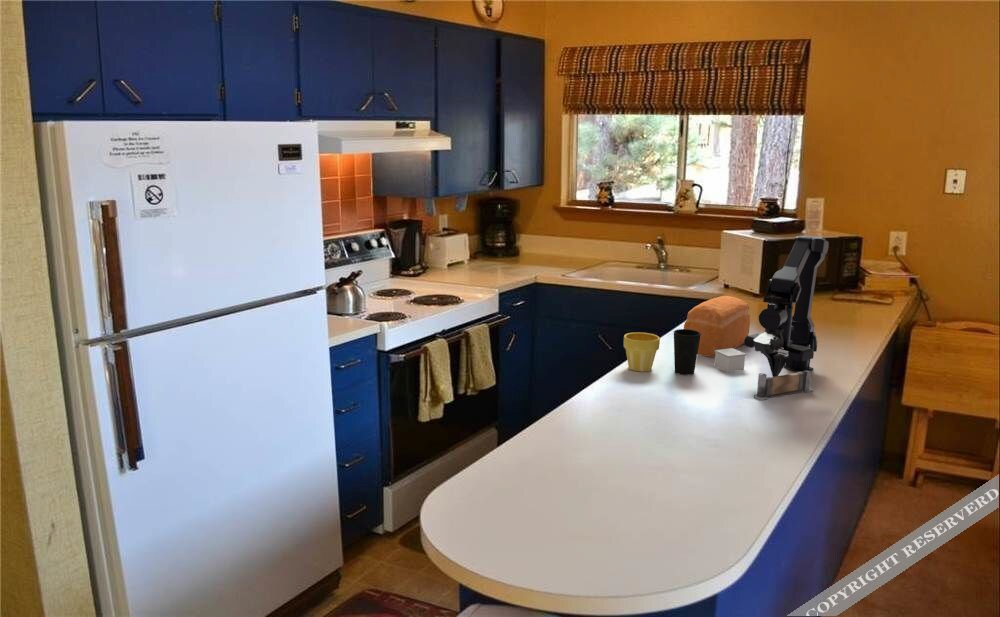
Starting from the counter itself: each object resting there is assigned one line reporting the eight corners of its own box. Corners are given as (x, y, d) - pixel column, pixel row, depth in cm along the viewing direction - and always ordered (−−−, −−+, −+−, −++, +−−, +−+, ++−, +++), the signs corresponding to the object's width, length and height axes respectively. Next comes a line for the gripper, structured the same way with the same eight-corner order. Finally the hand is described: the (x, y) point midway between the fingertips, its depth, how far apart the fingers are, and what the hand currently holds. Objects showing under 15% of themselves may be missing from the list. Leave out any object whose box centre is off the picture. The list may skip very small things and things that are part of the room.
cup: (698, 377, 234) (701, 336, 232) (670, 375, 236) (673, 334, 233) (697, 369, 242) (700, 330, 239) (671, 367, 243) (673, 328, 240)
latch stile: (804, 387, 227) (806, 369, 225) (813, 391, 224) (815, 372, 223) (796, 389, 225) (798, 370, 224) (804, 392, 223) (806, 373, 221)
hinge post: (760, 394, 220) (763, 371, 219) (770, 399, 217) (772, 375, 216) (750, 396, 219) (752, 373, 217) (759, 400, 216) (762, 377, 214)
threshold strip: (796, 390, 225) (797, 389, 225) (802, 392, 223) (802, 391, 223) (762, 395, 220) (762, 394, 219) (767, 398, 218) (767, 397, 218)
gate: (766, 396, 218) (768, 379, 217) (762, 394, 219) (763, 378, 218) (801, 389, 224) (803, 373, 223) (797, 387, 225) (799, 371, 224)
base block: (730, 364, 248) (732, 348, 247) (744, 370, 242) (746, 353, 241) (713, 366, 245) (714, 350, 244) (727, 372, 240) (728, 356, 239)
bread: (678, 351, 260) (681, 303, 256) (711, 335, 280) (715, 290, 277) (719, 359, 252) (724, 309, 248) (750, 342, 272) (754, 295, 269)
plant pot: (636, 361, 249) (638, 330, 246) (664, 368, 242) (666, 336, 239) (615, 367, 242) (616, 335, 239) (643, 376, 234) (646, 343, 232)
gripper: (733, 319, 225) (728, 373, 229) (792, 334, 210) (786, 391, 214) (759, 313, 231) (754, 366, 235) (817, 328, 217) (811, 384, 220)
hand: (775, 377), depth 226 cm, fingers closed
